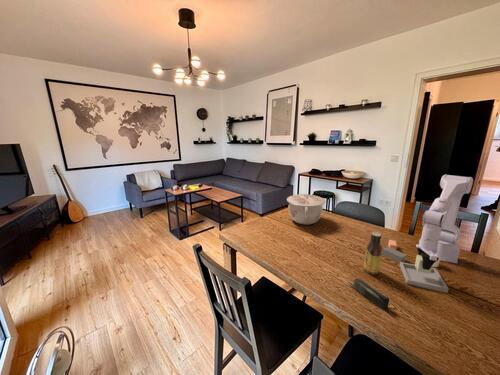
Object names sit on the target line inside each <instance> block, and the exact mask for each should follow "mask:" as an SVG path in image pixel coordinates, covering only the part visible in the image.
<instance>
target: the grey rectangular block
mask: <svg viewBox="0 0 500 375" xmlns="http://www.w3.org/2000/svg"><path fill="white" fill-rule="evenodd" d="M382 255H383V256H385V257H387V258H388V259H391V260H392V261H395V262H396V263H398V264H400V262H403V263H406V262H407V256H408V255H407V254H405V253H403V252H401V251H399V250H395V249H392V248H390V247H389V246H386V247H384V248H383V247H382Z"/></svg>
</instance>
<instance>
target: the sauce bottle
mask: <svg viewBox="0 0 500 375" xmlns="http://www.w3.org/2000/svg"><path fill="white" fill-rule="evenodd" d="M381 239H382V234H381V233H380V232H377V231H373V232H371V234H370V240H369V243H368V244H367V245H366V248H365V256H364V263H363V271H365V273H367V274H369V275H373V276H374V275H375V276H377V274H379V272H380V267H381V266H380V265H381V261H382V255H383V254H382V250H383V247H382V245H381Z"/></svg>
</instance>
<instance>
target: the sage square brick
mask: <svg viewBox="0 0 500 375" xmlns="http://www.w3.org/2000/svg"><path fill="white" fill-rule="evenodd" d="M422 263H423V261H422V256H421V255H418V254H416V258H415V264H414V265H415V267H416V269H417V271H418V272H423V273H429V274H430V273H431V269H432V268H433V267H431V268H430V269H429V270H426V269H423V267H422Z"/></svg>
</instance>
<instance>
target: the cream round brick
mask: <svg viewBox="0 0 500 375" xmlns="http://www.w3.org/2000/svg"><path fill="white" fill-rule="evenodd" d="M437 257H438V258H439V260H438V261H436V262H435V263H434V264H433V265H432V268H439V266H440V261H441V260H440V258H441V257H440V256H439V255H437Z"/></svg>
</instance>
